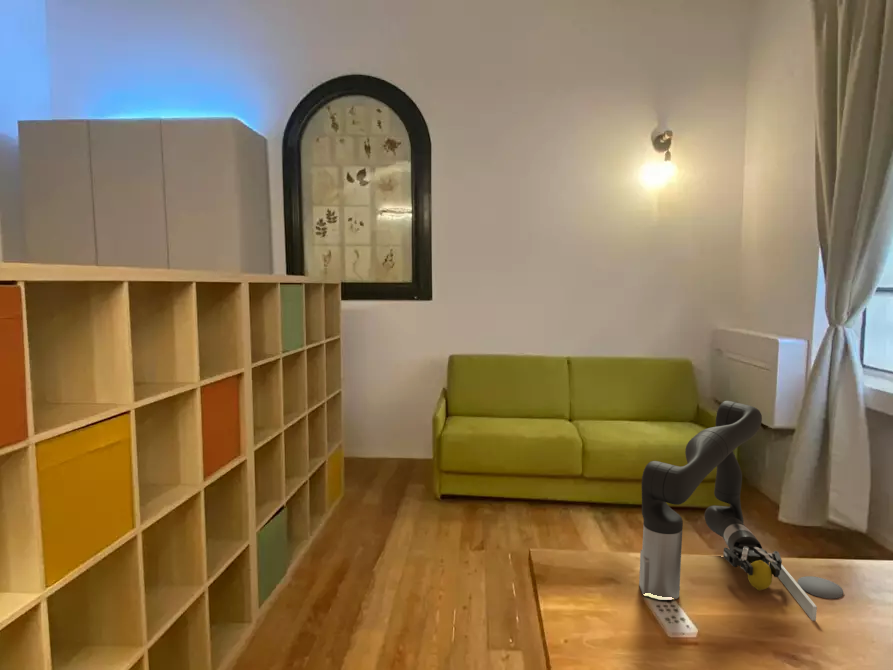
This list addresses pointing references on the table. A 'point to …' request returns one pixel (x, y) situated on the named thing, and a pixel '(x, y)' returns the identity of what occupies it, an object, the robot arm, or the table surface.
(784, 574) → the low wall
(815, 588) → the slate mat
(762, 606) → the table surface
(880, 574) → the table surface
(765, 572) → the lemon
